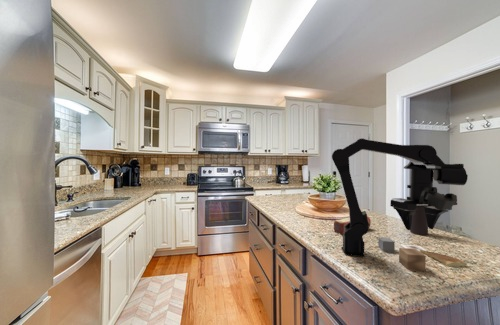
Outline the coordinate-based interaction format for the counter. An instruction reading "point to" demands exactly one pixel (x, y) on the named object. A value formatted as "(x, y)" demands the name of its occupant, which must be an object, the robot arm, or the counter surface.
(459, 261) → the shard
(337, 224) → the snack package
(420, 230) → the bottle
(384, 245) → the gray cube
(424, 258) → the walnut block
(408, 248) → the plan card
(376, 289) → the counter surface
